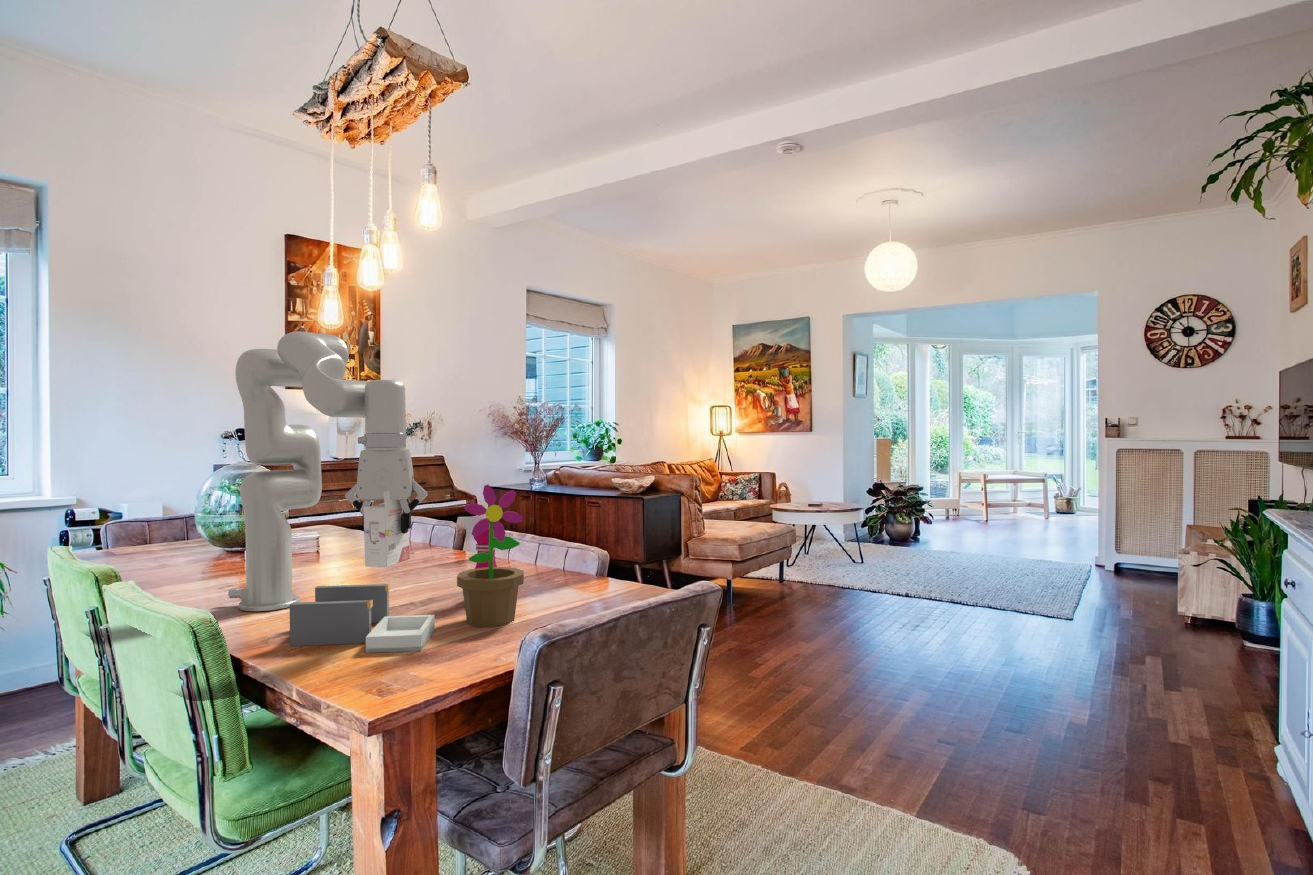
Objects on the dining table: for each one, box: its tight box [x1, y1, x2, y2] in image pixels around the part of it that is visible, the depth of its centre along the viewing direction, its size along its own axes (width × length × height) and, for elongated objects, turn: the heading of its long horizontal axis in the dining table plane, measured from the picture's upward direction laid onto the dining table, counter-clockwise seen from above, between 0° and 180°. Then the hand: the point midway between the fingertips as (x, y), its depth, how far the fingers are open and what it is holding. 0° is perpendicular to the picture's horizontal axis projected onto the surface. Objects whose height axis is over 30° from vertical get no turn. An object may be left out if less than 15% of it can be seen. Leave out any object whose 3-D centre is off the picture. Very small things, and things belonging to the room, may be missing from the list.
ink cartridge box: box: [363, 491, 411, 568], centre depth 139 cm, size 9×5×15 cm, turn 169°
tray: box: [365, 614, 436, 654], centre depth 139 cm, size 10×14×3 cm
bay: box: [289, 583, 391, 647], centre depth 144 cm, size 15×16×8 cm
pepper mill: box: [473, 516, 498, 569], centre depth 171 cm, size 7×7×20 cm
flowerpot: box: [456, 484, 525, 628], centre depth 152 cm, size 14×14×30 cm
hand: (387, 532), depth 140 cm, fingers closed on ink cartridge box, 6 cm apart
